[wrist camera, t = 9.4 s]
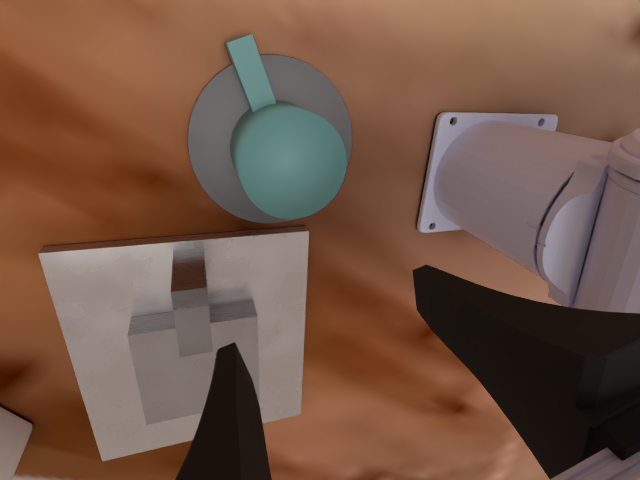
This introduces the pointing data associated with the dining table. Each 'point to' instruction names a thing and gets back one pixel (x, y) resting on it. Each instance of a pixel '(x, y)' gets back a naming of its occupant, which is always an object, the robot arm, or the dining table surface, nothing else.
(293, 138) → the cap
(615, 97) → the dining table surface
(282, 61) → the coaster
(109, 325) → the post base
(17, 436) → the medicine bottle
